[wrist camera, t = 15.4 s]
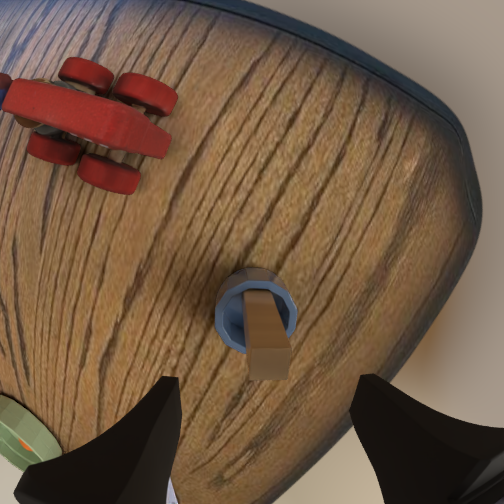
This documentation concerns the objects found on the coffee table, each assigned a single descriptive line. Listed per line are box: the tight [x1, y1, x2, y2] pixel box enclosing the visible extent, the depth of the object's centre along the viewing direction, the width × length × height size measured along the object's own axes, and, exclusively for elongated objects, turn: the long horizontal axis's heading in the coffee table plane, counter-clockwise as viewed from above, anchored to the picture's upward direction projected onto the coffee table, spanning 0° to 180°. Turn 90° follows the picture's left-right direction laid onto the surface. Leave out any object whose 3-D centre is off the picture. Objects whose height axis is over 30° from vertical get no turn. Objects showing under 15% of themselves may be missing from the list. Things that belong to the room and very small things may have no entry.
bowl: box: [0, 394, 62, 472], centre depth 20 cm, size 12×12×4 cm
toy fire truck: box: [0, 57, 178, 195], centre depth 12 cm, size 7×12×10 cm, turn 64°
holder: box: [215, 267, 297, 354], centre depth 19 cm, size 5×5×3 cm
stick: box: [242, 288, 292, 380], centre depth 15 cm, size 2×2×9 cm
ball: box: [18, 437, 32, 451], centre depth 20 cm, size 3×3×3 cm
